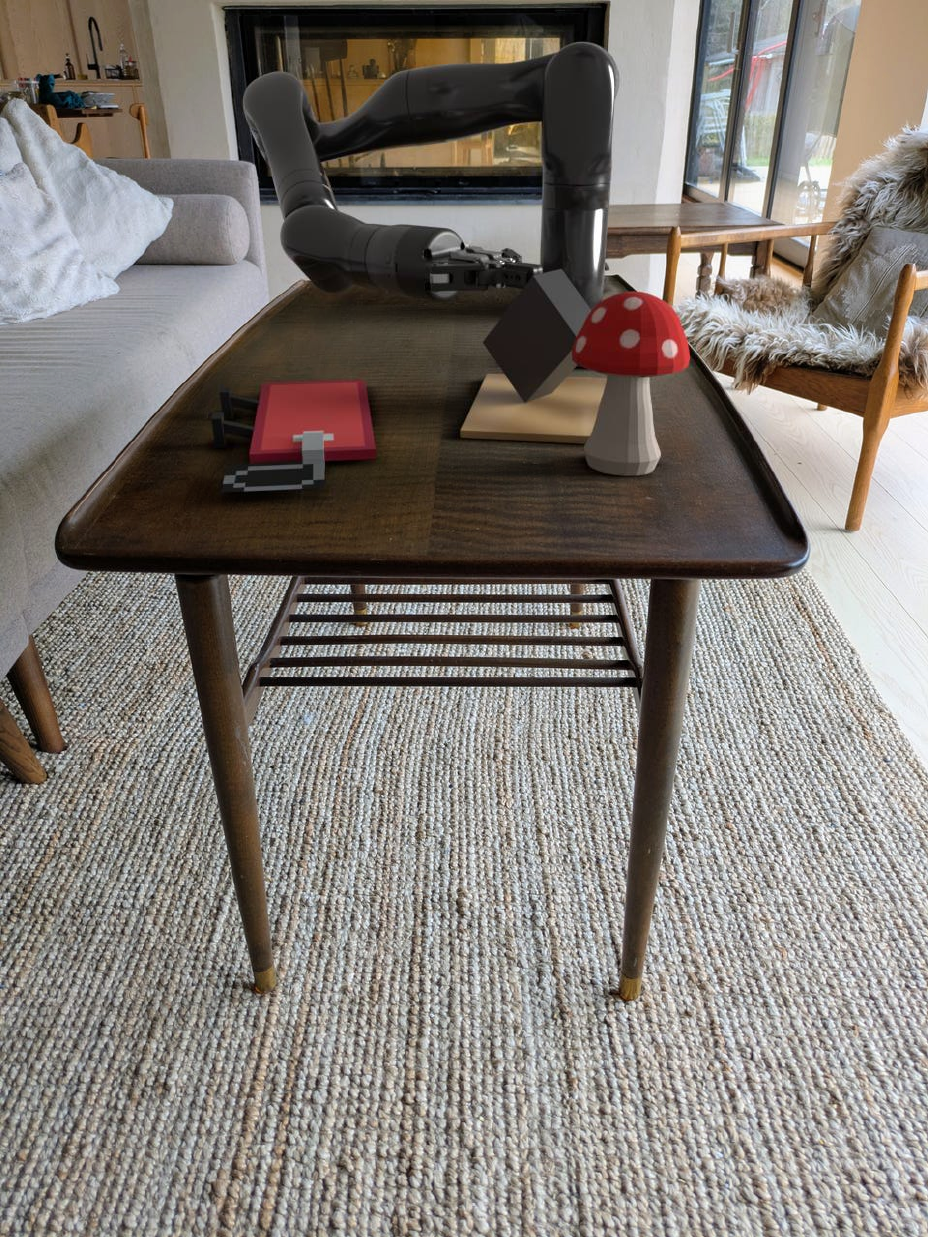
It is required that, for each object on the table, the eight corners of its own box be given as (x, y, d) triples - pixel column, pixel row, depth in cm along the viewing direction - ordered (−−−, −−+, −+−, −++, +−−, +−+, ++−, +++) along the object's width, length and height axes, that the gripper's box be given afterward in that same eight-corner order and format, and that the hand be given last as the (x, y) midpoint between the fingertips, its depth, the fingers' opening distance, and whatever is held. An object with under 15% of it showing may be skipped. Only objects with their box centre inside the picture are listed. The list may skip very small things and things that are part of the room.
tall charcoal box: (482, 342, 95) (532, 275, 87) (511, 333, 98) (562, 268, 90) (524, 403, 94) (579, 341, 86) (552, 393, 97) (608, 331, 89)
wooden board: (487, 380, 104) (487, 373, 103) (636, 385, 101) (637, 378, 101) (460, 437, 88) (460, 430, 87) (637, 446, 85) (638, 438, 85)
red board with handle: (198, 504, 74) (381, 495, 76) (193, 471, 73) (380, 463, 75) (229, 396, 100) (365, 391, 102) (226, 371, 98) (364, 366, 100)
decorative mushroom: (554, 475, 79) (562, 299, 72) (578, 442, 86) (588, 278, 79) (668, 490, 76) (689, 307, 69) (683, 455, 83) (704, 285, 76)
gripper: (458, 287, 106) (576, 304, 96) (374, 307, 98) (494, 329, 88) (455, 218, 102) (579, 228, 92) (368, 233, 94) (493, 246, 84)
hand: (537, 277), depth 90 cm, fingers closed
